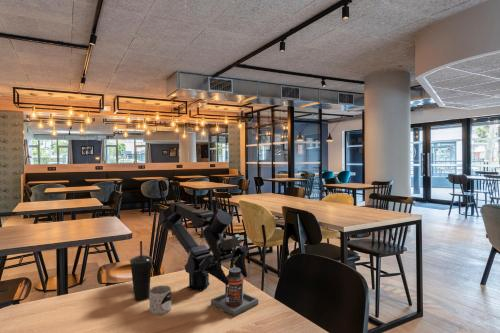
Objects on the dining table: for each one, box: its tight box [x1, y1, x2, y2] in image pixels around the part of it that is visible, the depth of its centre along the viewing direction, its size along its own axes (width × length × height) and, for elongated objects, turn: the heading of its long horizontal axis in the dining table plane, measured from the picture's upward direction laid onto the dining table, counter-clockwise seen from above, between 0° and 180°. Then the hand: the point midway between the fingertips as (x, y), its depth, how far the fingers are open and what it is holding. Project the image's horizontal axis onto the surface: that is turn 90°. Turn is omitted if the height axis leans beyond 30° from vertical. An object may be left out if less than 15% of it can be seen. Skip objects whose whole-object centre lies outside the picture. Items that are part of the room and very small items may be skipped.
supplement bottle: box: [224, 266, 244, 306], centre depth 106 cm, size 6×6×11 cm
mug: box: [149, 285, 172, 316], centre depth 104 cm, size 10×7×7 cm
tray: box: [210, 292, 259, 318], centre depth 106 cm, size 11×11×2 cm
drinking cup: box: [129, 240, 153, 302], centre depth 111 cm, size 8×8×20 cm
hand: (237, 280), depth 105 cm, fingers open, 8 cm apart
